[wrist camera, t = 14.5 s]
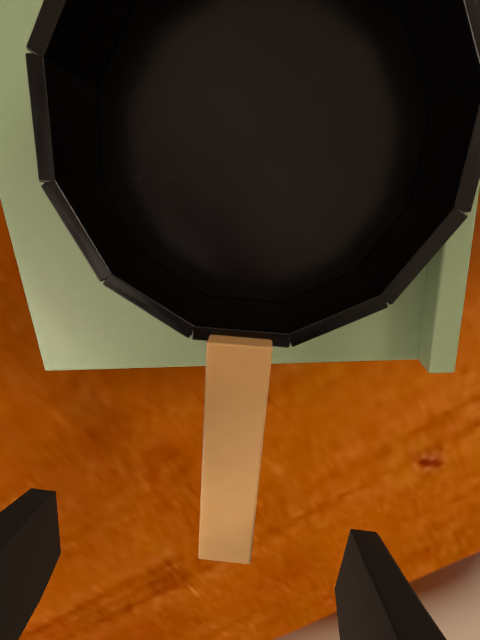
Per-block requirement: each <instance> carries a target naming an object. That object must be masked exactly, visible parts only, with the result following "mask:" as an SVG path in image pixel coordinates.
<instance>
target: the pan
mask: <svg viewBox="0 0 480 640" xmlns="http://www.w3.org/2000/svg"><path fill="white" fill-rule="evenodd" d="M26 48H27V50H28V51H30V52H31V53H26V54H25V57H26V66H27V75H28V85H29V94H30V103H31V112H32V121H33V131H34V140H35V149H36V158H37V168H38V177H39V181H40V182H42V183H44V184H42V185H41V187H42V189H43V191H44V192H45V194H46V196H47V197H48V199H49V200H50V202H51V204H52V205H53V207H54V209H55V210H56V212H57V213H58V215H59V217H60V218H61V220H62V221H63V223H64V225H65V226H66V228H67V230H68V231H69V233H70V234H71V236H72V238H73V239H74V241H75V243H76V244H77V246H78V247H79V249H80V251H81V252H82V254H83V255H84V257H85V259H86V260H87V262H88V264H89V265H90V267H91V268H92V270H93V272H94V273H95V275H96V276H97V278H98V280H99V281H100V282H102V281H104V280H105V281H104V282H103V285H104V286H105V287H107V288H109V289H110V290H112V291H113V292H115V293H117V294H118V295H120V296H121V297H123V298H125V299H126V300H128V301H129V302H131V303H133V304H134V305H136V306H137V307H139V308H141V309H142V310H144V311H145V312H147V313H149V314H150V315H152V316H153V317H155V318H157V319H158V320H160V321H161V322H163V323H164V324H166V325H168V326H169V327H171V328H172V329H174V330H176V331H177V332H179V333H180V334H182V335H184V336H185V337H187V338H189V337H190V336H191V338H192V339H193V340H203V341H207V343H206V367H205V394H204V421H203V447H202V474H201V500H200V527H199V553H198V556H199V559H205V560H215V561H224V562H234V563H244V564H250V562H251V554H252V545H253V535H254V525H255V515H256V506H257V496H258V486H259V476H260V467H261V457H262V447H263V437H264V428H265V418H266V408H267V399H268V389H269V379H270V369H271V360H272V350H273V348H272V346H274V347H286V348H288V347H289V346H290V344H291V346H292V347H294V346H297V345H299V344H302V343H304V342H306V341H309V340H311V339H314V338H316V337H318V336H321V335H323V334H326V333H328V332H330V331H333V330H335V329H338V328H340V327H342V326H345V325H347V324H350V323H352V322H354V321H357V320H359V319H362V318H364V317H366V316H369V315H371V314H374V313H376V312H379V311H381V310H383V309H386V308H388V304H390V305H392V304H393V303H394V302H395V301H396V299H397V298H398V297H399V296H400V295H401V294H402V292H403V291H404V290H405V289H406V288H407V287H408V286H409V284H410V283H411V282H412V281H413V280H414V279H415V277H416V276H417V275H418V274H419V273H420V272H421V271H422V269H423V268H424V267H425V266H426V265H427V264H428V262H429V261H430V260H431V259H432V258H433V257H434V255H435V254H436V253H437V252H438V251H439V250H440V249H441V247H442V246H443V245H444V244H445V243H446V242H447V240H448V239H449V238H450V237H451V236H452V235H453V234H454V232H455V231H456V230H457V229H458V228H459V227H460V225H461V224H462V223H463V222H464V221H465V220H466V219H467V217H468V215H467V214H466V213H465V212H471V209H472V205H473V202H474V198H475V194H476V190H477V186H478V183H479V179H480V0H44V1H43V3H42V6H41V9H40V11H39V14H38V17H37V19H36V22H35V24H34V27H33V30H32V32H31V35H30V38H29V40H28V43H27V46H26ZM387 303H388V304H387Z"/></svg>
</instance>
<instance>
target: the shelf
mask: <svg viewBox="0 0 480 640" xmlns="http://www.w3.org/2000/svg"><path fill="white" fill-rule="evenodd" d="M43 1H44V0H0V200H1V203H2V207H3V211H4V215H5V219H6V223H7V226H8V230H9V234H10V238H11V242H12V245H13V249H14V253H15V257H16V261H17V265H18V268H19V272H20V276H21V280H22V284H23V287H24V291H25V295H26V299H27V303H28V307H29V310H30V314H31V318H32V322H33V326H34V329H35V333H36V337H37V341H38V345H39V349H40V352H41V356H42V360H43V364H44V368H45V370H46V371H54V370H87V369H119V368H151V367H184V366H206V343H207V341H203V340H193V339H192V338H191V336H190V337H189V338H187V337H185V336H184V335H182V334H180V333H179V332H177V331H176V330H174V329H172V328H171V327H169V326H168V325H166V324H164V323H163V322H161V321H160V320H158V319H157V318H155V317H153V316H152V315H150V314H149V313H147V312H145V311H144V310H142V309H141V308H139V307H137V306H136V305H134V304H133V303H131V302H129V301H128V300H126V299H125V298H123V297H121V296H120V295H118V294H117V293H115V292H113V291H112V290H110V289H109V288H107V287H105V286H104V285H103V282H104V281H105V280H104V281H102V282H100V281H99V280H98V278H97V276H96V275H95V273H94V272H93V270H92V268H91V267H90V265H89V264H88V262H87V260H86V259H85V257H84V255H83V254H82V252H81V251H80V249H79V247H78V246H77V244H76V243H75V241H74V239H73V238H72V236H71V234H70V233H69V231H68V230H67V228H66V226H65V225H64V223H63V221H62V220H61V218H60V217H59V215H58V213H57V212H56V210H55V209H54V207H53V205H52V204H51V202H50V200H49V199H48V197H47V196H46V194H45V192H44V191H43V189H42V187H41V185H42V184H44V183H42V182H40V181H39V177H38V168H37V158H36V149H35V140H34V131H33V121H32V112H31V103H30V94H29V85H28V75H27V66H26V57H25V54H26V53H31V52H30V51H28V50H27V48H26V46H27V43H28V40H29V38H30V35H31V32H32V30H33V27H34V24H35V22H36V19H37V17H38V14H39V11H40V9H41V6H42V3H43ZM479 188H480V179H479V183H478V186H477V190H476V194H475V198H474V202H473V205H472V209H471V212H465V213H466V214H467V215H468V217H467V219H466V220H465V221H464V222H463V223H462V224H461V225H460V227H459V228H458V229H457V230H456V231H455V232H454V234H453V235H452V236H451V237H450V238H449V239H448V240H447V242H446V243H445V244H444V245H443V246H442V247H441V249H440V250H439V251H438V252H437V253H436V254H435V255H434V257H433V258H432V259H431V260H430V261H429V262H428V264H427V265H426V266H425V267H424V268H423V269H422V271H421V272H420V273H419V274H418V275H417V276H416V277H415V279H414V280H413V281H412V282H411V283H410V284H409V286H408V287H407V288H406V289H405V290H404V291H403V292H402V294H401V295H400V296H399V297H398V298H397V299H396V301H395V302H394V303H393V304H392V305H390V304H388V303H387V304H388V308H386V309H383V310H381V311H379V312H376V313H374V314H371V315H369V316H366V317H364V318H362V319H359V320H357V321H354V322H352V323H350V324H347V325H345V326H342V327H340V328H338V329H335V330H333V331H330V332H328V333H326V334H323V335H321V336H318V337H316V338H314V339H311V340H309V341H306V342H304V343H302V344H299V345H297V346H294V347H292V346H291V344H290V346H289V347H288V348H286V347H274V346H272V348H273V350H272V360H271V364H280V363H313V362H345V361H377V360H409V359H418V360H419V361H420V363H421V364H422V365H423V366H424V367H425V368H426V370H427V371H428V372H430V373H452V372H454V371H455V363H456V356H457V349H458V342H459V334H460V327H461V320H462V312H463V305H464V298H465V290H466V283H467V276H468V269H469V261H470V254H471V247H472V239H473V232H474V225H475V217H476V210H477V203H478V195H479Z"/></svg>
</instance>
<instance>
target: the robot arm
mask: <svg viewBox="0 0 480 640" xmlns="http://www.w3.org/2000/svg"><path fill="white" fill-rule="evenodd" d="M60 553H61V549H60V537H59V525H58V513H57V501H56V491H48V490H40V489H33V488H31V489H30V490H29V491H27V492H26V493H25V494H23V495H22V496H21V497H19V498H18V499H17V500H15V501H14V502H13V503H12V504H10V505H9V506H8V507H7V508H5V509H4V510H3V511H2V512H0V640H18V639H19V637H20V636H21V634H22V632H23V630H24V628H25V627H26V625H27V623H28V621H29V619H30V618H31V616H32V614H33V612H34V610H35V608H36V607H37V605H38V603H39V601H40V599H41V597H42V595H43V592H44V590H45V588H46V586H47V584H48V581H49V579H50V577H51V575H52V572H53V570H54V568H55V565H56V563H57V560H58V558H59V556H60ZM335 595H336V605H337V616H338V625H339V633H340V640H446V638H445V637H444V635H443V634H442V632H441V631H440V629H439V628H438V626H437V625H436V623H435V622H434V621H433V619H432V618H431V616H430V615H429V613H428V612H427V610H426V609H425V607H424V606H423V604H422V603H421V601H420V600H419V598H418V597H417V595H416V594H415V592H414V590H413V589H412V587H411V586H410V584H409V583H408V581H407V580H406V578H405V576H404V575H403V573H402V572H401V570H400V568H399V567H398V565H397V564H396V562H395V560H394V559H393V557H392V556H391V554H390V552H389V551H388V549H387V548H386V546H385V544H384V543H383V541H382V540H381V538H380V536H379V535H378V534H377V533H376V532H371V531H363V530H355V529H351V530H350V534H349V537H348V541H347V545H346V549H345V552H344V556H343V560H342V564H341V567H340V571H339V575H338V579H337V582H336V586H335Z"/></svg>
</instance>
